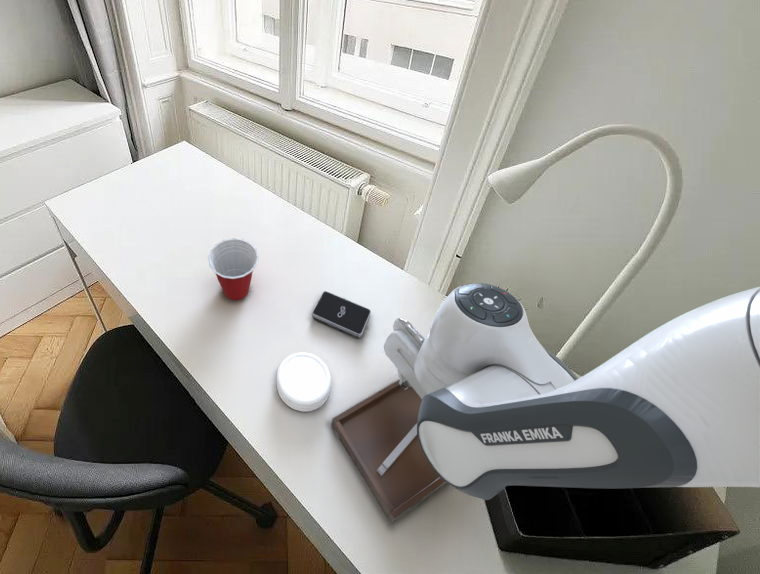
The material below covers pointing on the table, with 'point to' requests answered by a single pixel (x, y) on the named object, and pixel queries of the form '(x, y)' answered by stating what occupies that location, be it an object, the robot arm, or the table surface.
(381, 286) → the table surface
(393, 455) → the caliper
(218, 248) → the plastic cup
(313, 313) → the external hard drive
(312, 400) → the white round container
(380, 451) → the tray
